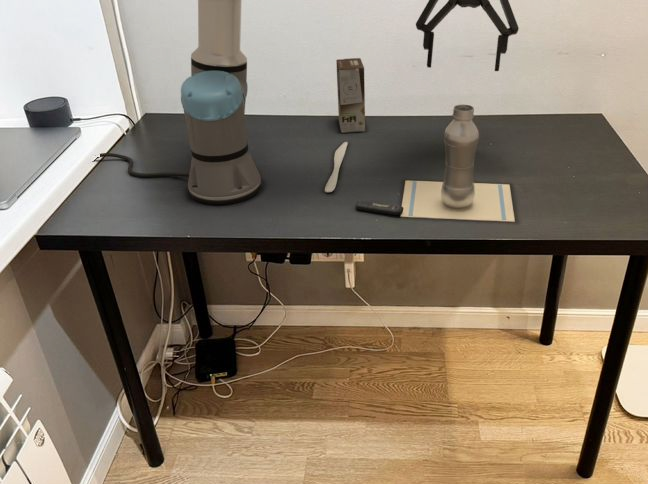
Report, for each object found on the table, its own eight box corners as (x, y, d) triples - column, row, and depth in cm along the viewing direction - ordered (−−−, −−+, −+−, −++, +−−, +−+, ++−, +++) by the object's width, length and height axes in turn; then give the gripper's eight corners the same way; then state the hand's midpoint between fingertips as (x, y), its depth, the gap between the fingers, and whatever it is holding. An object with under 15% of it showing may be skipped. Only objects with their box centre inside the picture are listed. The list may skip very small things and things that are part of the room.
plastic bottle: (473, 213, 127) (481, 115, 116) (438, 210, 128) (443, 113, 117) (474, 198, 132) (483, 102, 121) (441, 195, 133) (447, 101, 122)
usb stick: (354, 210, 129) (354, 203, 128) (359, 204, 131) (359, 197, 130) (399, 217, 126) (399, 210, 125) (404, 211, 128) (404, 204, 127)
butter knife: (319, 190, 135) (333, 190, 135) (338, 142, 158) (351, 141, 157) (319, 193, 136) (333, 193, 135) (339, 144, 158) (351, 143, 158)
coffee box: (366, 131, 164) (365, 68, 155) (340, 133, 163) (338, 69, 154) (362, 118, 171) (360, 57, 162) (337, 120, 171) (335, 58, 162)
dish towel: (400, 217, 127) (400, 216, 127) (405, 181, 140) (405, 180, 140) (514, 222, 124) (514, 221, 124) (509, 185, 137) (509, 184, 137)
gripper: (409, -52, 126) (399, 61, 129) (540, -48, 122) (527, 68, 125) (411, -39, 133) (402, 67, 136) (536, -35, 130) (523, 74, 133)
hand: (462, 68), depth 131 cm, fingers open, 13 cm apart
